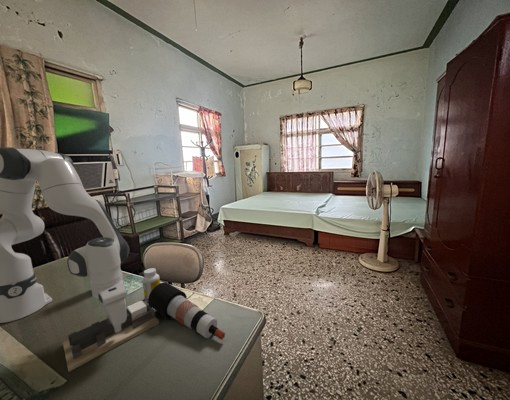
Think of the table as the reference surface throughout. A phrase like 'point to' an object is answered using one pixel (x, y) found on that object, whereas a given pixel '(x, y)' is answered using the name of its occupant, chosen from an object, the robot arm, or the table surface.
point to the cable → (182, 310)
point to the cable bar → (106, 327)
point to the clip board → (108, 340)
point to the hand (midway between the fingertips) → (113, 324)
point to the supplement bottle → (150, 281)
